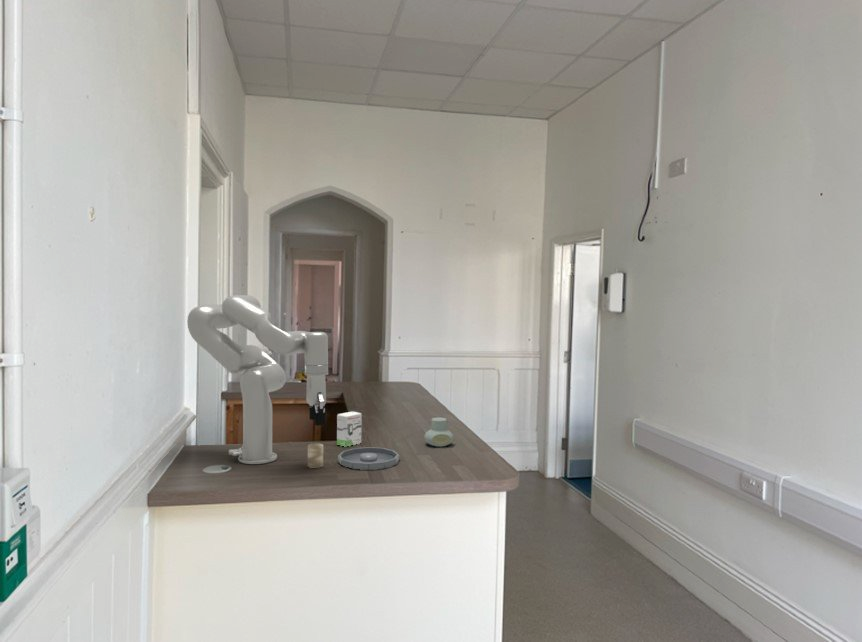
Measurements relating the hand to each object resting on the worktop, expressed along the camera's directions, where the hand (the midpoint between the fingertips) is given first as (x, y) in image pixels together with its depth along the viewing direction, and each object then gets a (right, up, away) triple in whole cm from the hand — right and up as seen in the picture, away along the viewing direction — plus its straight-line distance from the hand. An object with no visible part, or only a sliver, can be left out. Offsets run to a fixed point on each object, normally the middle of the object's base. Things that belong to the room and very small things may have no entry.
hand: (317, 422), depth 191 cm
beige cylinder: (-1, -15, +1) cm, 15 cm away
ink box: (+6, -14, +29) cm, 33 cm away
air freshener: (+40, -14, +31) cm, 53 cm away
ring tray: (+16, -15, +7) cm, 23 cm away
